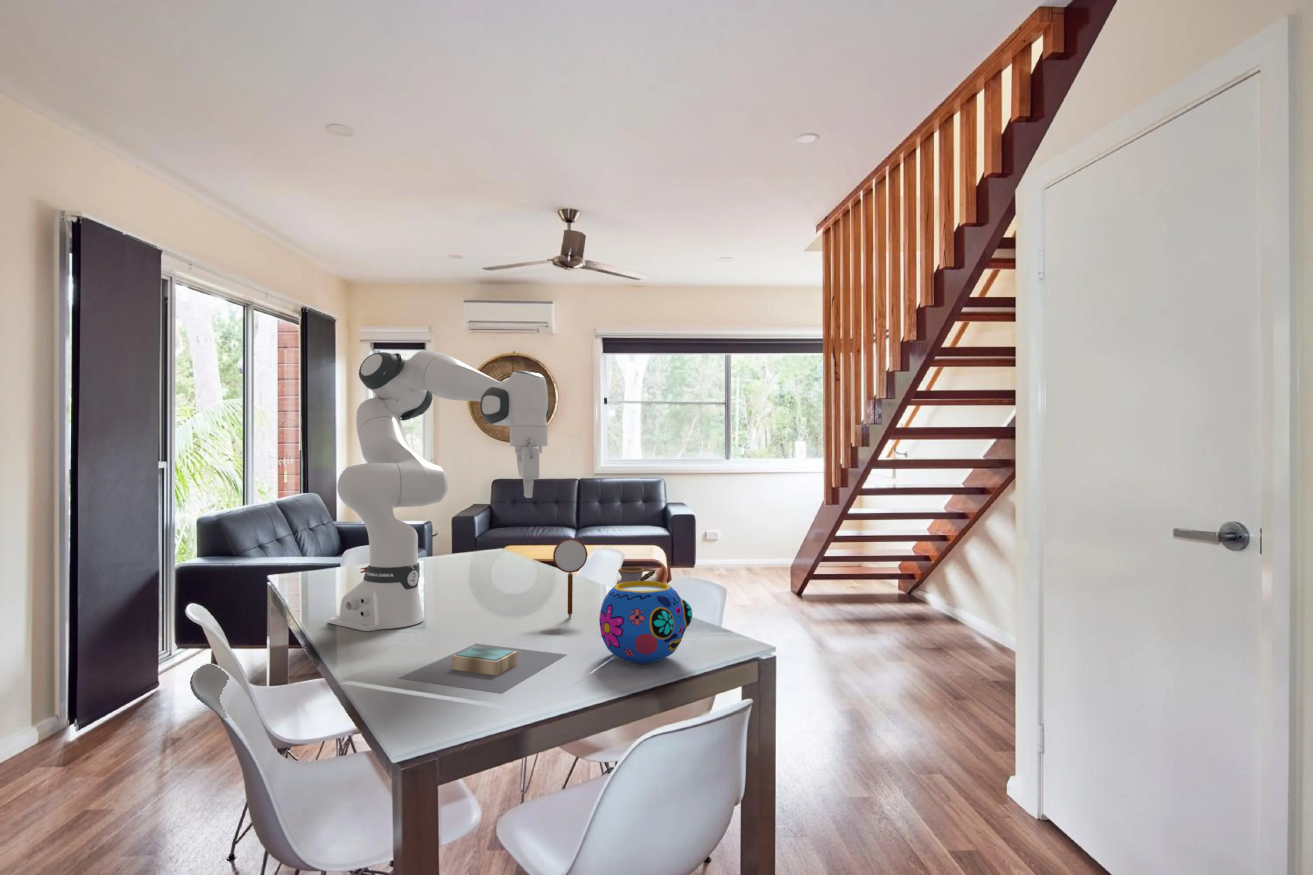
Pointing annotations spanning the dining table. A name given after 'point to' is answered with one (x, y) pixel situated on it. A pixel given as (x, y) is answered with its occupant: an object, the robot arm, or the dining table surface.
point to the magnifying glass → (570, 562)
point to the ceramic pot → (643, 621)
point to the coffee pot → (634, 574)
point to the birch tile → (484, 660)
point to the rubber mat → (445, 675)
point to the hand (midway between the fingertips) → (528, 497)
